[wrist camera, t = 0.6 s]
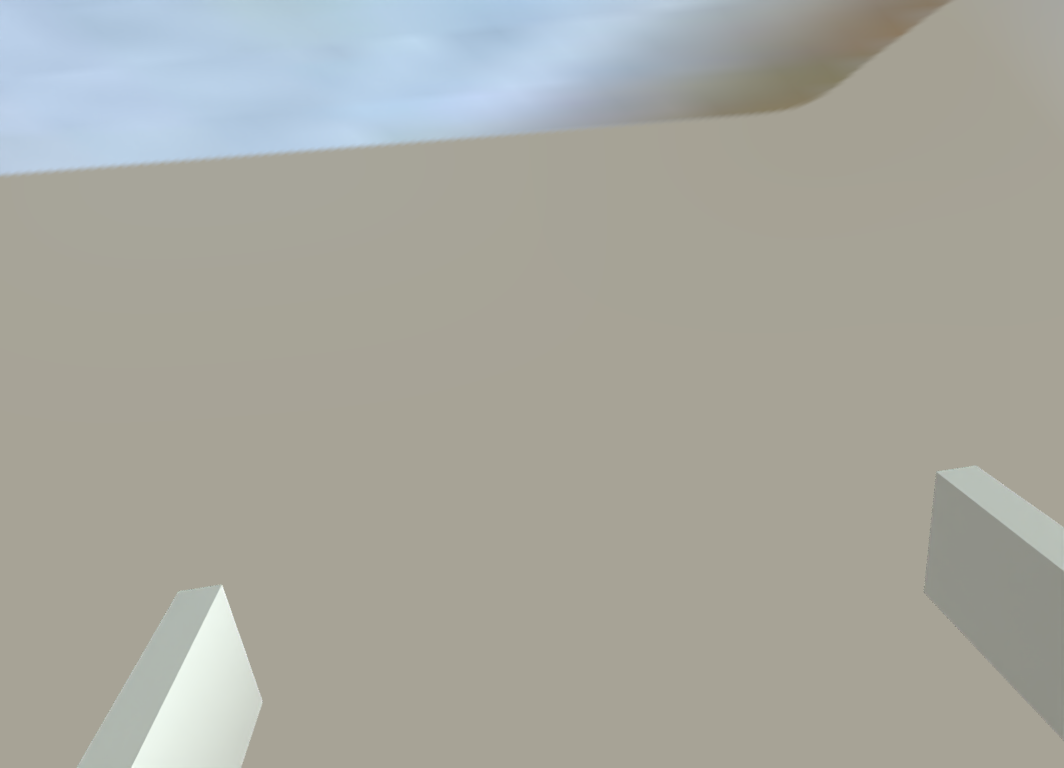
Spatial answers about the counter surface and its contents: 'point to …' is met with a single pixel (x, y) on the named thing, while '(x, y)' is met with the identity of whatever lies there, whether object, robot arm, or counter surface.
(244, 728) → the robot arm
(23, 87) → the counter surface
